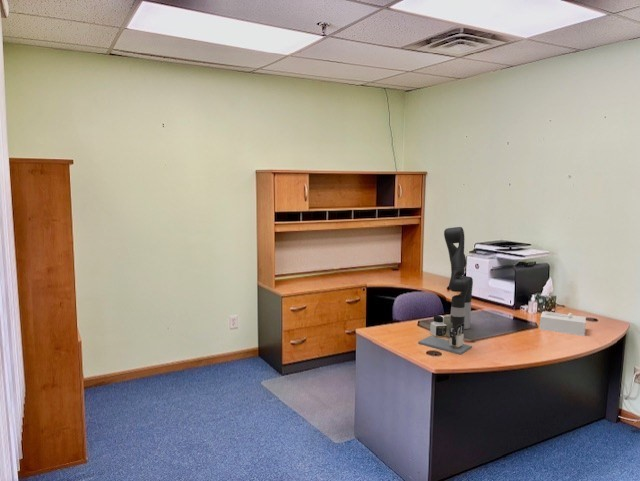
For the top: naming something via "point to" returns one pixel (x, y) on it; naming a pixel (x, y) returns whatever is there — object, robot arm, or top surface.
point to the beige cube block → (458, 340)
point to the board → (444, 345)
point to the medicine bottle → (438, 326)
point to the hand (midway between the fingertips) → (456, 343)
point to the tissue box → (563, 323)
